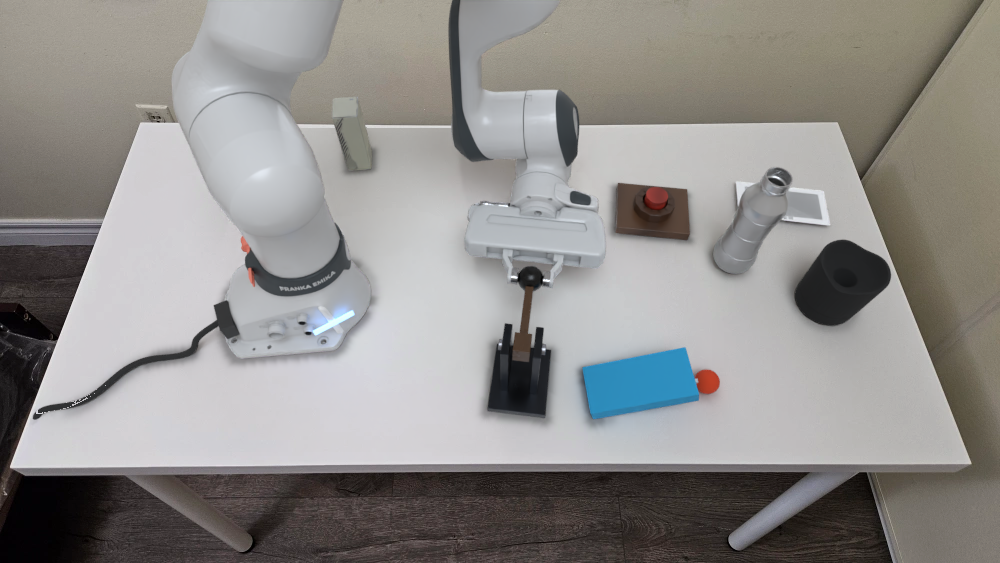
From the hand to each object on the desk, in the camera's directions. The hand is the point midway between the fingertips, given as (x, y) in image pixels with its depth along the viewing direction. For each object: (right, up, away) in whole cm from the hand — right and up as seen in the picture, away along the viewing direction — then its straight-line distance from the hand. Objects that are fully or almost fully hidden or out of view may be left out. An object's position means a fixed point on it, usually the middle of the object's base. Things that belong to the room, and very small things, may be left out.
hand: (530, 283), depth 79 cm
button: (+22, +14, +17) cm, 31 cm away
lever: (-1, -5, -1) cm, 5 cm away
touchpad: (+44, +13, +21) cm, 51 cm away
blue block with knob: (+17, -15, +2) cm, 23 cm away
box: (-30, +22, +27) cm, 46 cm away
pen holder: (+46, -3, +10) cm, 47 cm away
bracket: (-1, -14, +3) cm, 14 cm away
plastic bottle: (+33, +3, +14) cm, 36 cm away
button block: (+22, +12, +20) cm, 32 cm away
